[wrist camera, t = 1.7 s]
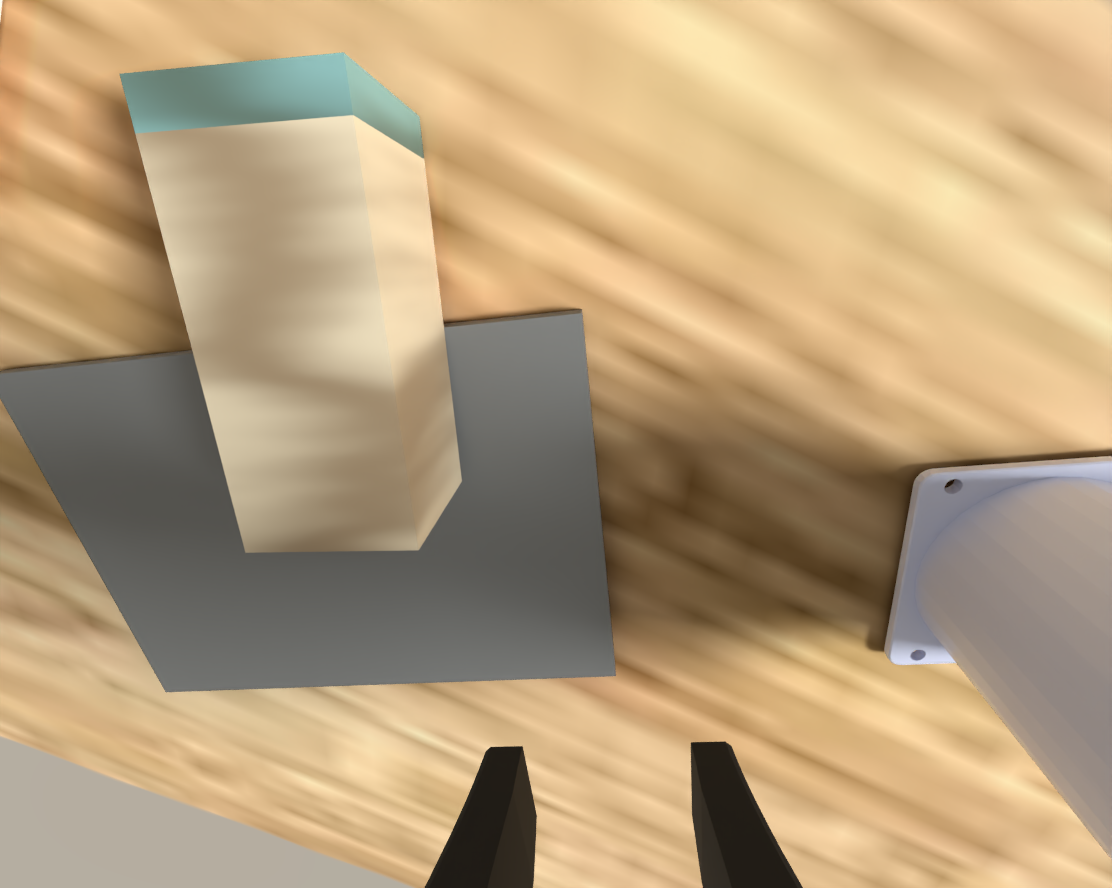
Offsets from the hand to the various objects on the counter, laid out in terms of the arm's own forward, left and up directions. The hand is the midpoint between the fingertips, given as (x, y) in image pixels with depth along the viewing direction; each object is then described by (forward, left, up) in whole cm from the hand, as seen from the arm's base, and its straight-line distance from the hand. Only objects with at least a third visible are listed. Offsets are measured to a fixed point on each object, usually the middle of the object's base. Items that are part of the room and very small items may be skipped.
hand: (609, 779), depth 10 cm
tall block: (+6, -3, -6) cm, 9 cm away
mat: (+9, 0, -9) cm, 13 cm away
